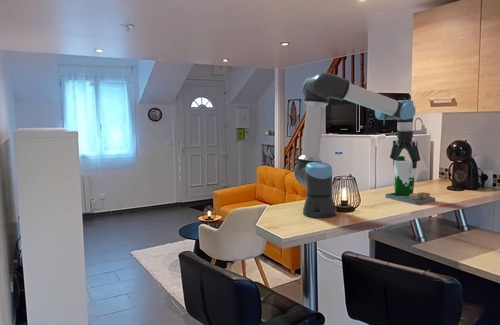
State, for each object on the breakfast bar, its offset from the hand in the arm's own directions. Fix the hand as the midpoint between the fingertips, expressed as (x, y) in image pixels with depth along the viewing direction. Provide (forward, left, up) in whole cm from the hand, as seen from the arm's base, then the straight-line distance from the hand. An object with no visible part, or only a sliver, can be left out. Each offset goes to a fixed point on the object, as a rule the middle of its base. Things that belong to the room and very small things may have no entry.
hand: (404, 173), depth 197 cm
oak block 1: (-3, -10, -13) cm, 16 cm away
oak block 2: (+3, -10, -13) cm, 17 cm away
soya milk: (0, 0, -11) cm, 11 cm away
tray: (0, -4, -14) cm, 14 cm away
